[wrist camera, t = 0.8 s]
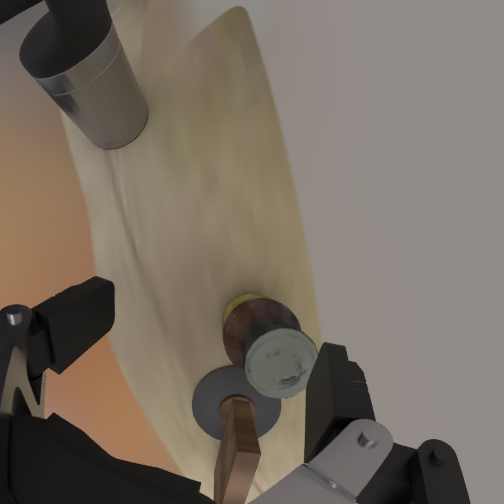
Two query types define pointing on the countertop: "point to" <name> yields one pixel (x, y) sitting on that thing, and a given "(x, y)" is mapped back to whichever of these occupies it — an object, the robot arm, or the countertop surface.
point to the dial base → (226, 385)
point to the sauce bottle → (268, 345)
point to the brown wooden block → (236, 451)
